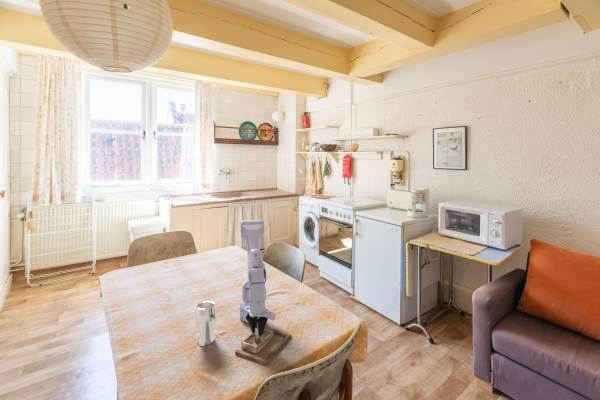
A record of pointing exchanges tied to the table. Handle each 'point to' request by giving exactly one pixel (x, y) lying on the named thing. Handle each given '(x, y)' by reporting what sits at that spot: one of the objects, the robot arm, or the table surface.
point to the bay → (274, 352)
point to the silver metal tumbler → (206, 322)
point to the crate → (257, 340)
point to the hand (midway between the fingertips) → (257, 333)
